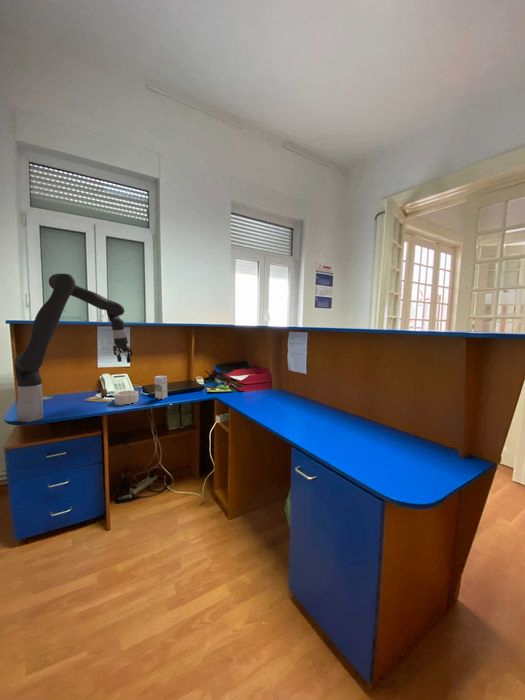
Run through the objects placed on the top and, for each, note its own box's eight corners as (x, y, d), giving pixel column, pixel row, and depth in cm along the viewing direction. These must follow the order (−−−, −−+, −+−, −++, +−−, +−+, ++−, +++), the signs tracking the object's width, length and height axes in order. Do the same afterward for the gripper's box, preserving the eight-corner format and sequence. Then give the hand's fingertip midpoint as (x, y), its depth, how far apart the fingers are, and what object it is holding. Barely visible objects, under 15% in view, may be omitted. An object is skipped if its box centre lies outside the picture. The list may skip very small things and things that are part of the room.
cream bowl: (130, 405, 171) (130, 396, 170) (110, 404, 173) (109, 394, 172) (142, 399, 183) (142, 391, 183) (123, 398, 185) (123, 389, 185)
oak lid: (107, 403, 176) (107, 393, 175) (83, 402, 178) (83, 392, 177) (123, 396, 191) (123, 387, 191) (101, 395, 194) (101, 386, 193)
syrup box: (167, 397, 190) (167, 375, 188) (162, 400, 184) (162, 377, 183) (160, 396, 191) (159, 375, 190) (154, 399, 185) (154, 376, 184)
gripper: (106, 337, 180) (111, 362, 183) (122, 338, 173) (127, 364, 177) (117, 335, 186) (122, 359, 190) (133, 335, 180) (137, 361, 183)
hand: (124, 362), depth 183 cm, fingers open, 8 cm apart
